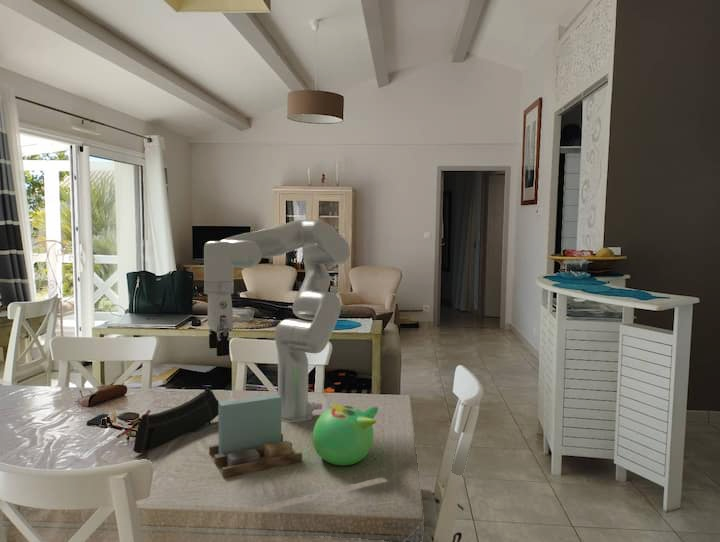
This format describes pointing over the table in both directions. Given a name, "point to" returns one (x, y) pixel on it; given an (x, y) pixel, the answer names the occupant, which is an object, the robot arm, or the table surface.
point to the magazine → (175, 422)
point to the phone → (97, 420)
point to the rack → (254, 466)
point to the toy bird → (344, 434)
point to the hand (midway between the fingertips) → (219, 351)
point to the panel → (249, 423)
